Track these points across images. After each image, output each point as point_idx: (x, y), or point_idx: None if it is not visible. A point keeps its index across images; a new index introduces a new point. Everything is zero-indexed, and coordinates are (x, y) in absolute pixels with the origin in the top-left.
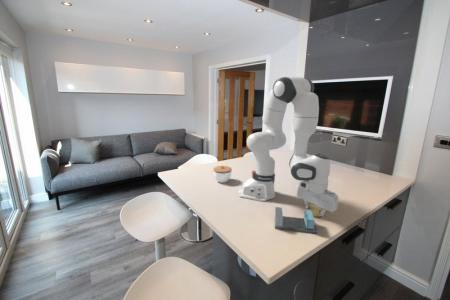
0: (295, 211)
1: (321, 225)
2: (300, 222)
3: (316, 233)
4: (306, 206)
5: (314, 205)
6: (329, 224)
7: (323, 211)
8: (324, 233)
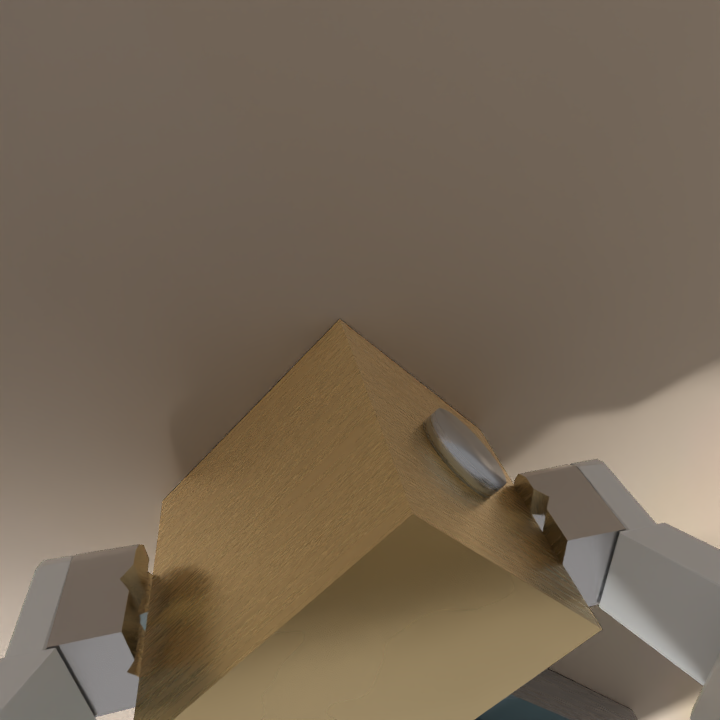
0: None
1: None
2: None
3: (629, 713)
4: (85, 693)
5: (293, 668)
6: (708, 461)
7: (696, 656)
8: None
